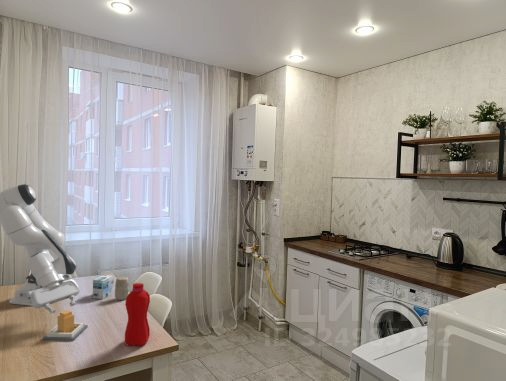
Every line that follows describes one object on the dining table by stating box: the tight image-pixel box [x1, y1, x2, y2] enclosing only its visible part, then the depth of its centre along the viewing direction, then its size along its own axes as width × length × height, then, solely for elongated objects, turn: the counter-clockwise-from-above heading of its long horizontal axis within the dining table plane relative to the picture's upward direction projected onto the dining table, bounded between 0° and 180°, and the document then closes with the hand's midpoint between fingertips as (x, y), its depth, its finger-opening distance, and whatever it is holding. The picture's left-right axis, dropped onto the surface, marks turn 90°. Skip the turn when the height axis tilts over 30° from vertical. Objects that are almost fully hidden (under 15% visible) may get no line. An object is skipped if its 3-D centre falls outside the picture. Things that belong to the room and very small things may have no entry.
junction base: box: [41, 322, 88, 342], centre depth 151 cm, size 13×13×2 cm
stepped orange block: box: [57, 309, 75, 333], centre depth 151 cm, size 5×5×9 cm
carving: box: [114, 276, 130, 301], centre depth 194 cm, size 6×8×12 cm
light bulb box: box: [92, 274, 115, 300], centre depth 197 cm, size 11×7×11 cm, turn 168°
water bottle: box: [124, 282, 151, 347], centre depth 146 cm, size 9×11×25 cm
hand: (63, 308), depth 153 cm, fingers open, 8 cm apart
